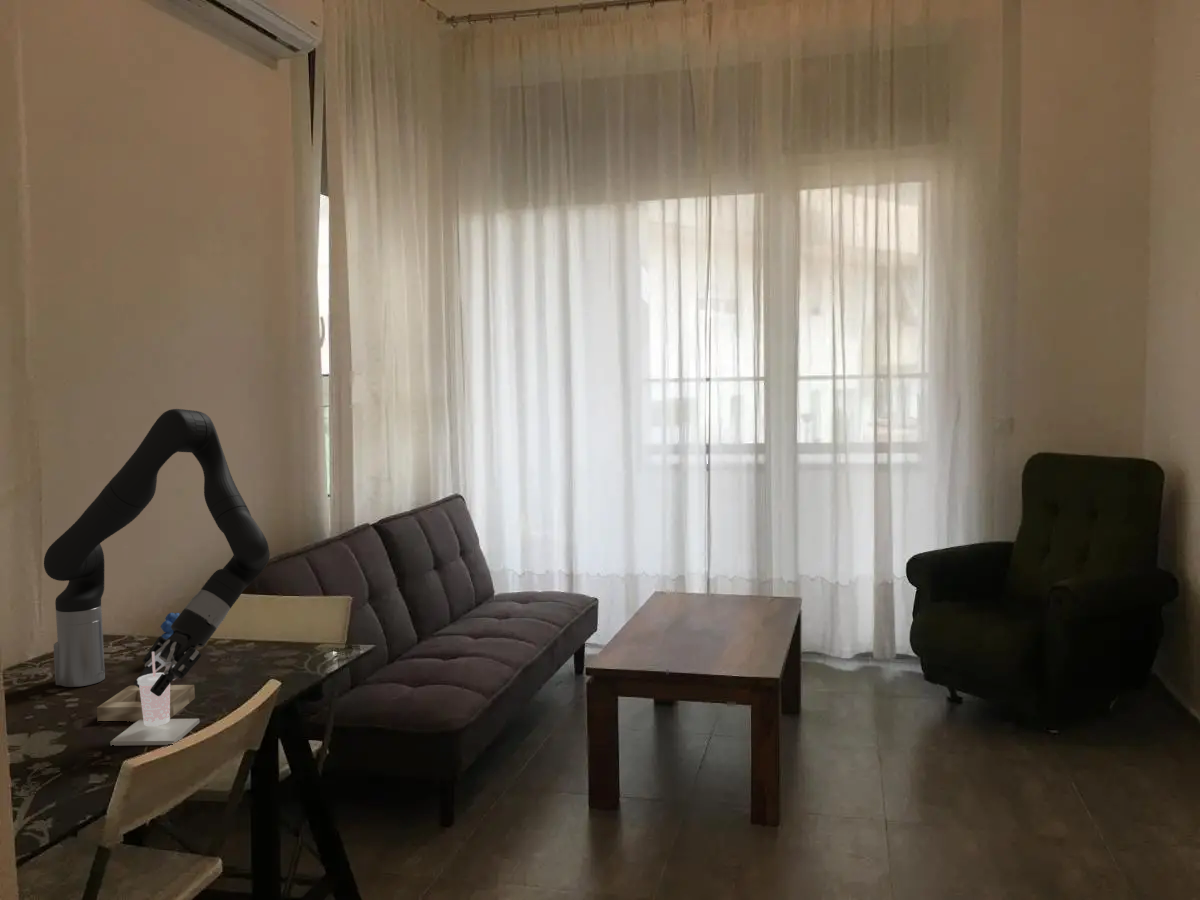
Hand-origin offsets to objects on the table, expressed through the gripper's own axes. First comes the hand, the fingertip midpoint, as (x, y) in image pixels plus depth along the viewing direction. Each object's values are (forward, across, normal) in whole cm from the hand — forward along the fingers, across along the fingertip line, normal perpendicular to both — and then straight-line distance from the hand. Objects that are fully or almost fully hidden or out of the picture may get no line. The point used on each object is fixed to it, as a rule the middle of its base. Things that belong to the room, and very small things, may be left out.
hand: (146, 690), depth 191 cm
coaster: (+5, 0, +8) cm, 9 cm away
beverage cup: (+4, 0, +6) cm, 7 cm away
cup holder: (+1, -15, +12) cm, 19 cm away
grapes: (-14, -46, +28) cm, 55 cm away
